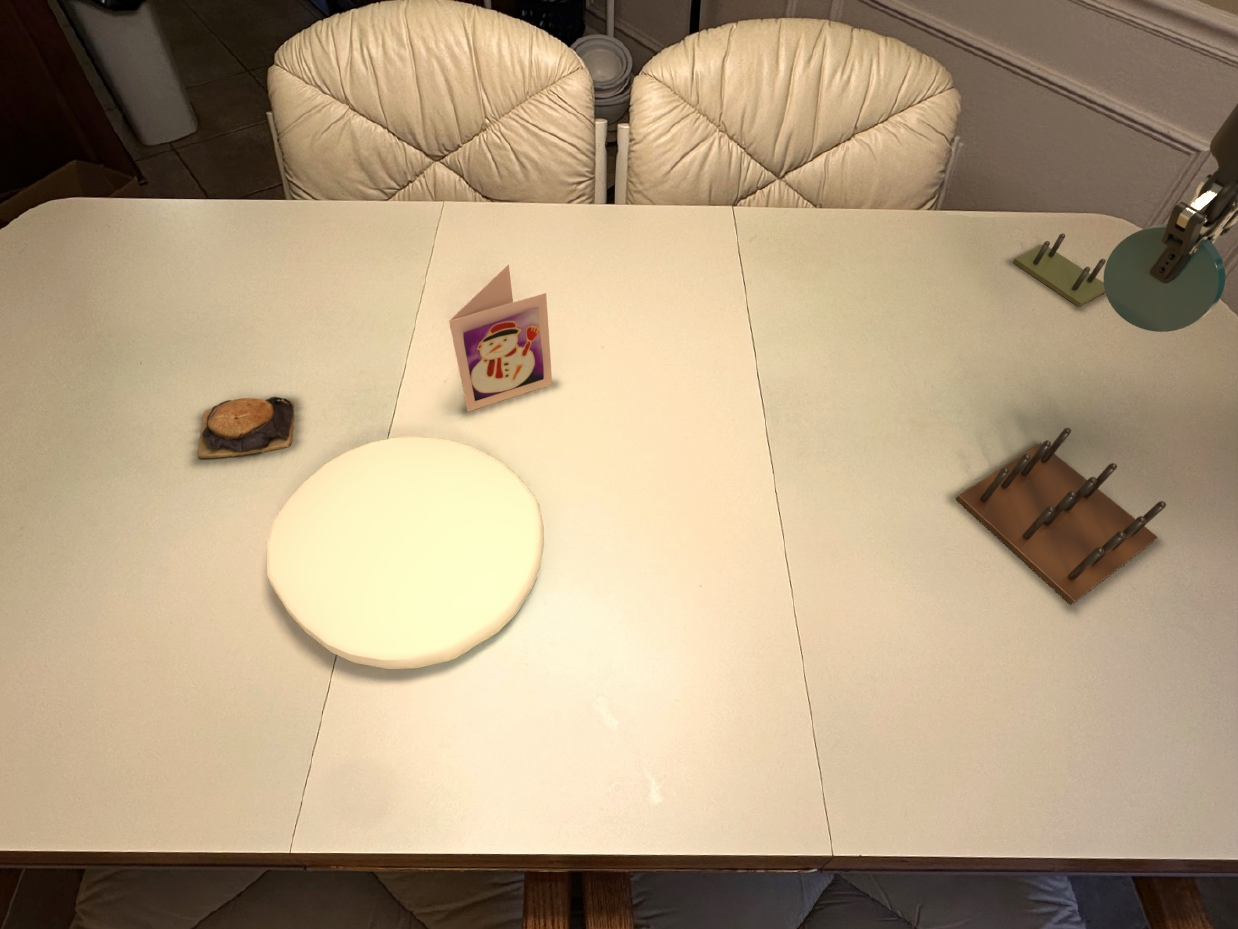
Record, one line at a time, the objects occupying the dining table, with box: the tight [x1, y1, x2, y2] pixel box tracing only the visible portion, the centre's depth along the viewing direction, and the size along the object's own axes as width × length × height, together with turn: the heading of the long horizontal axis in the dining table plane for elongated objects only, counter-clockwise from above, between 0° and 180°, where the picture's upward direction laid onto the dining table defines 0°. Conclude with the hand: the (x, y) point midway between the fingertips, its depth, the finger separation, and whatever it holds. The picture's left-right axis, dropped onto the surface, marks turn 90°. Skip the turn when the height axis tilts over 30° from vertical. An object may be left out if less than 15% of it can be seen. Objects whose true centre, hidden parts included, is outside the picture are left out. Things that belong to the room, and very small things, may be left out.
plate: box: [265, 436, 545, 670], centre depth 78 cm, size 28×6×27 cm
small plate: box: [1103, 223, 1226, 333], centre depth 77 cm, size 1×11×11 cm, turn 32°
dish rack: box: [955, 427, 1167, 605], centre depth 83 cm, size 15×16×7 cm
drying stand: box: [1012, 233, 1107, 308], centre depth 111 cm, size 7×12×5 cm, turn 33°
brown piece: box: [197, 396, 295, 459], centre depth 89 cm, size 11×8×4 cm
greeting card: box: [448, 264, 553, 412], centre depth 90 cm, size 11×7×15 cm, turn 116°
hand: (1165, 274), depth 76 cm, fingers closed on small plate, 1 cm apart
